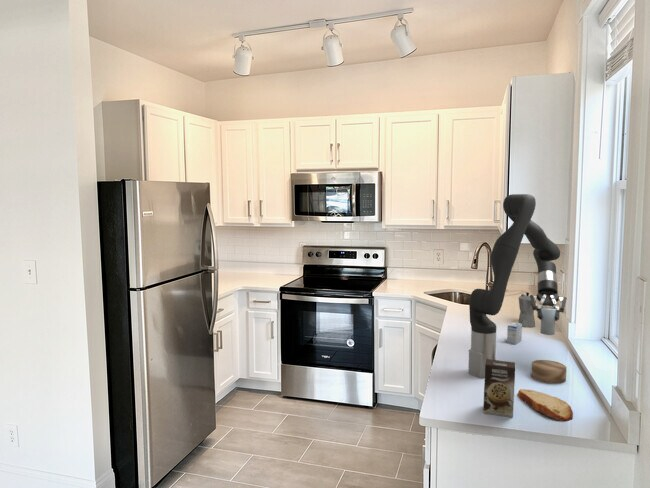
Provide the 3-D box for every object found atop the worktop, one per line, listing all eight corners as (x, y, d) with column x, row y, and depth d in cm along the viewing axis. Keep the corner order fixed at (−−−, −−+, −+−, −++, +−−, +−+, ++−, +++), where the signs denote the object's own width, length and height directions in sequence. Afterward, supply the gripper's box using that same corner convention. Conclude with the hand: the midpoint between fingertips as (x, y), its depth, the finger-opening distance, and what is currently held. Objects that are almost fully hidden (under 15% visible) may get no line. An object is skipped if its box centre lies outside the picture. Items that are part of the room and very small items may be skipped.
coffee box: (482, 413, 151) (484, 364, 150) (483, 405, 157) (485, 358, 156) (513, 418, 148) (515, 367, 146) (513, 409, 154) (515, 361, 152)
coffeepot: (540, 328, 249) (541, 295, 247) (521, 328, 249) (522, 294, 248) (529, 321, 264) (530, 289, 262) (512, 321, 265) (513, 289, 263)
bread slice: (518, 392, 169) (518, 382, 168) (575, 403, 159) (576, 392, 159) (508, 411, 153) (509, 400, 153) (571, 425, 144) (572, 413, 144)
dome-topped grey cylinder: (540, 334, 188) (541, 309, 187) (539, 330, 193) (540, 306, 192) (555, 335, 186) (556, 310, 186) (554, 332, 191) (555, 307, 190)
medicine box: (512, 339, 231) (512, 321, 230) (521, 341, 228) (522, 323, 227) (506, 343, 225) (507, 325, 224) (516, 345, 222) (517, 326, 221)
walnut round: (552, 386, 173) (552, 373, 173) (524, 375, 184) (524, 363, 183) (572, 380, 179) (573, 367, 179) (544, 370, 190) (545, 358, 189)
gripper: (529, 277, 197) (529, 312, 187) (567, 279, 192) (569, 315, 182) (528, 288, 203) (528, 322, 193) (565, 290, 198) (567, 325, 188)
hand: (548, 319), depth 188 cm, fingers closed on dome-topped grey cylinder, 5 cm apart
